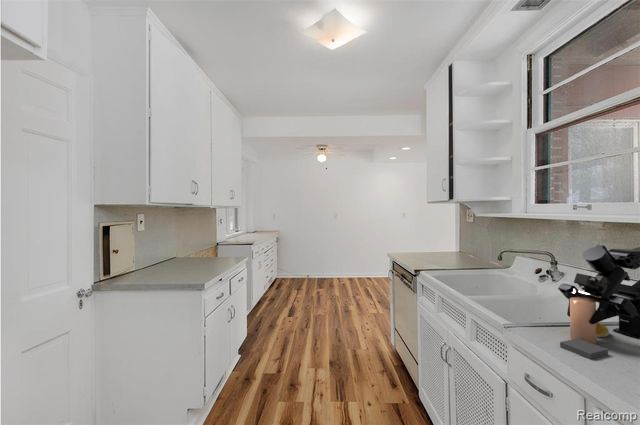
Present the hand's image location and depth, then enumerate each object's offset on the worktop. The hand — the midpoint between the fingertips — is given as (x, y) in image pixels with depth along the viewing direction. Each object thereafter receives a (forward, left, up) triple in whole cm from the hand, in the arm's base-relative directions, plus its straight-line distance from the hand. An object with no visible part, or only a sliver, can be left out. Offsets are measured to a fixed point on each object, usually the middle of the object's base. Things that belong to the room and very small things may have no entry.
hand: (579, 319), depth 90 cm
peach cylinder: (-1, 0, -7) cm, 7 cm away
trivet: (+6, +5, -7) cm, 10 cm away
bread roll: (-10, -3, -7) cm, 13 cm away
